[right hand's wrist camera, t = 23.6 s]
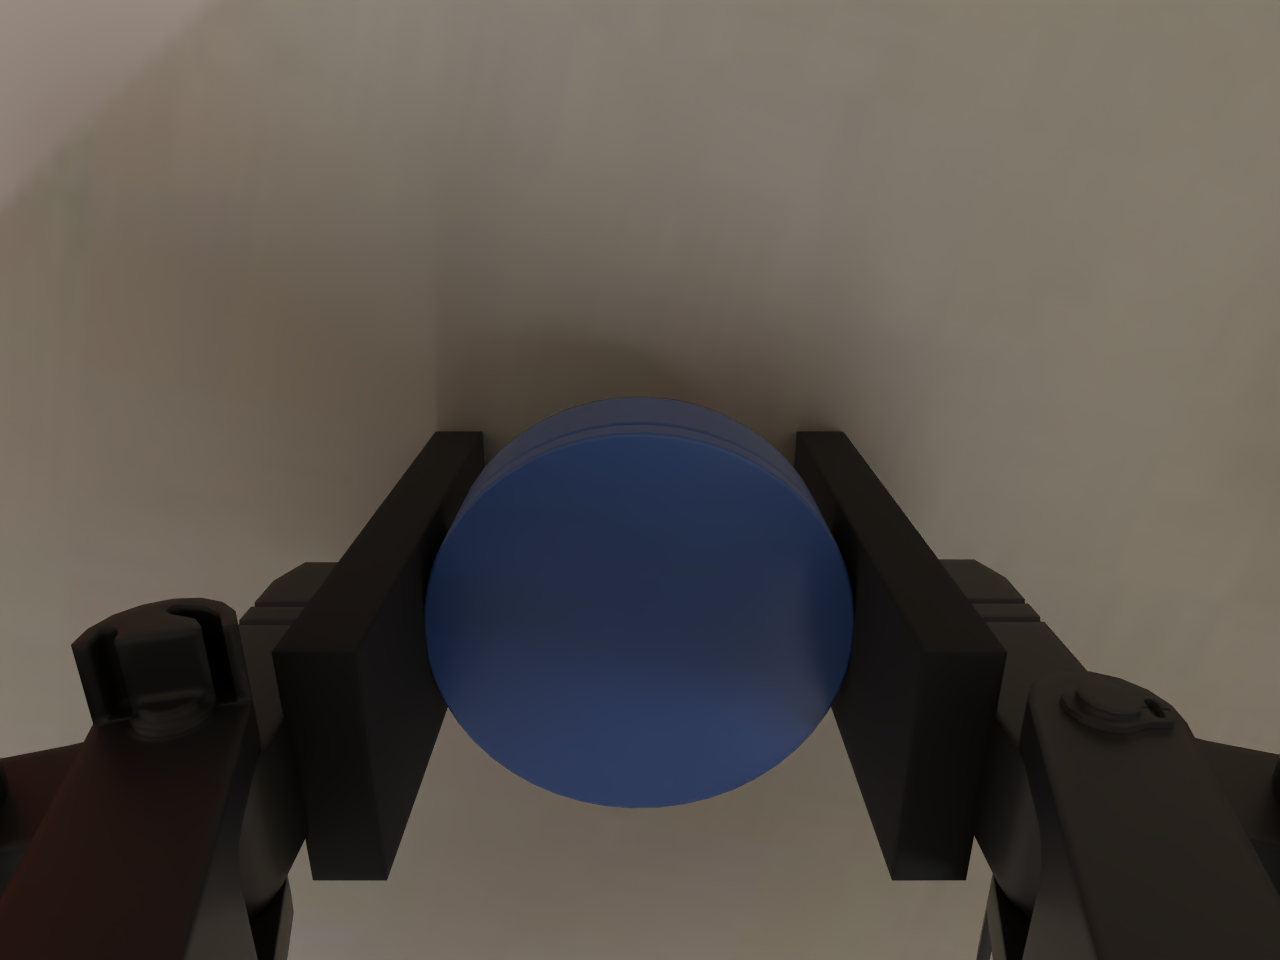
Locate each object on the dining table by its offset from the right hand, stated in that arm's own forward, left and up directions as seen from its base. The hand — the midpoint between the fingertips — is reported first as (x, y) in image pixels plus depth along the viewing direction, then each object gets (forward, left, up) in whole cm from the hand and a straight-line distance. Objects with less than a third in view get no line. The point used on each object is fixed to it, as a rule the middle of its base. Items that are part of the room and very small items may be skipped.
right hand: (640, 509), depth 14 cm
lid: (0, 0, +4) cm, 4 cm away
